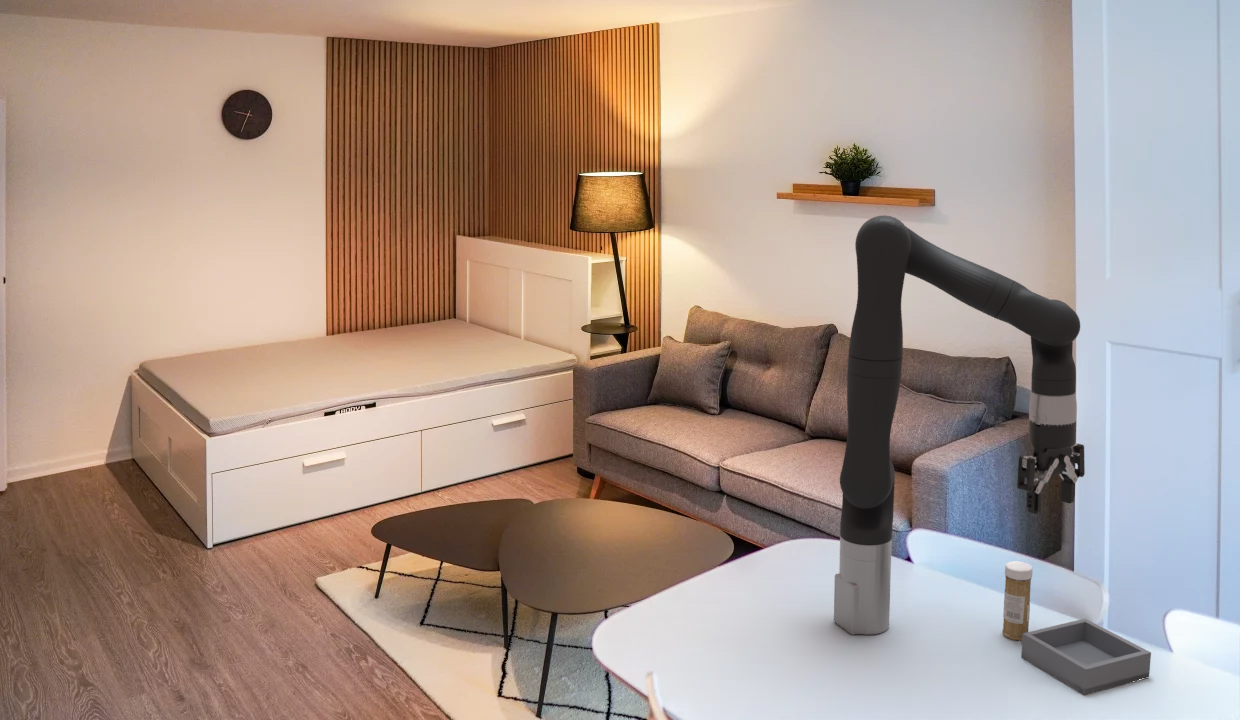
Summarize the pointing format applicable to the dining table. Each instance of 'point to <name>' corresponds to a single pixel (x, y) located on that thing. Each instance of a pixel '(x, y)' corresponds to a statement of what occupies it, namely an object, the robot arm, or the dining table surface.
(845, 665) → the dining table surface
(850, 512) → the robot arm
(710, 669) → the dining table surface
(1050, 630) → the bin
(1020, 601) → the sprinkles bottle
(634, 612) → the dining table surface
